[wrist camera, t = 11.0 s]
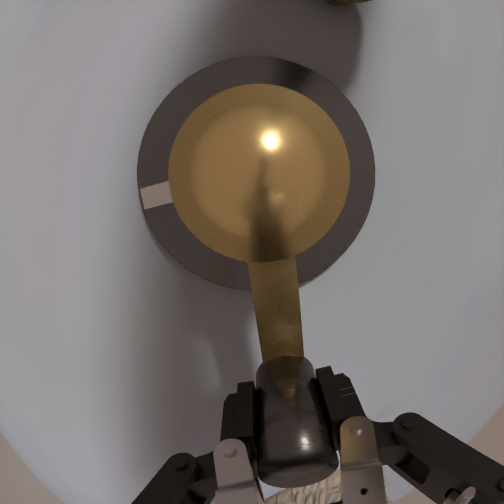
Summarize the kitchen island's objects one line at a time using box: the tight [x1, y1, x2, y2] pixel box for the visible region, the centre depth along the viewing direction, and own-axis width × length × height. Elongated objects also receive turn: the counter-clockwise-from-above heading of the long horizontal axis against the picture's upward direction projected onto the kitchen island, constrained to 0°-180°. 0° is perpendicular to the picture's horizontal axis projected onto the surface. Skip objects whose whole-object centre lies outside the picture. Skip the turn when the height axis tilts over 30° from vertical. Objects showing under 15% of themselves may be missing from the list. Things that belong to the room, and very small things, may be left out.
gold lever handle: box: [168, 84, 350, 488], centre depth 10 cm, size 15×7×8 cm, turn 8°
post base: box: [137, 57, 375, 290], centre depth 16 cm, size 16×16×6 cm
